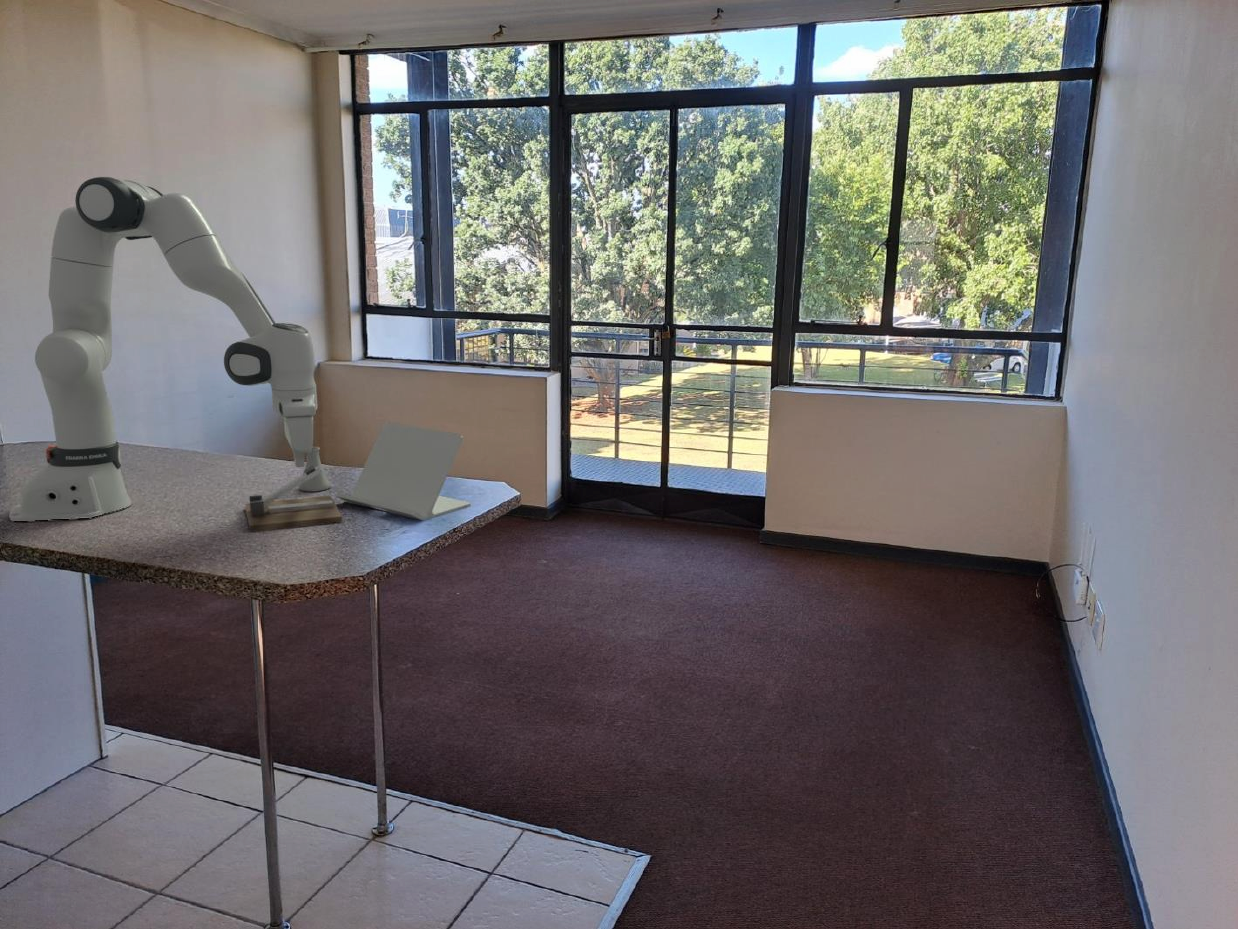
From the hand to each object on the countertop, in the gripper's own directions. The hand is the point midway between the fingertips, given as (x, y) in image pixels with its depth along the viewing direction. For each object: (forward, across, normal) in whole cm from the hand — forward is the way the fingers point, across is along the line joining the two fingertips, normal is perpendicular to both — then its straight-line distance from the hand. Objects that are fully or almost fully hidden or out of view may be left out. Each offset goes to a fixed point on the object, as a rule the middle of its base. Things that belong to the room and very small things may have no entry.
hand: (299, 465), depth 187 cm
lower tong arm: (+10, 0, -2) cm, 10 cm away
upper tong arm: (+6, 0, -2) cm, 6 cm away
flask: (+11, -22, +5) cm, 25 cm away
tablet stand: (+11, +1, +22) cm, 24 cm away
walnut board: (+11, 0, -2) cm, 11 cm away
